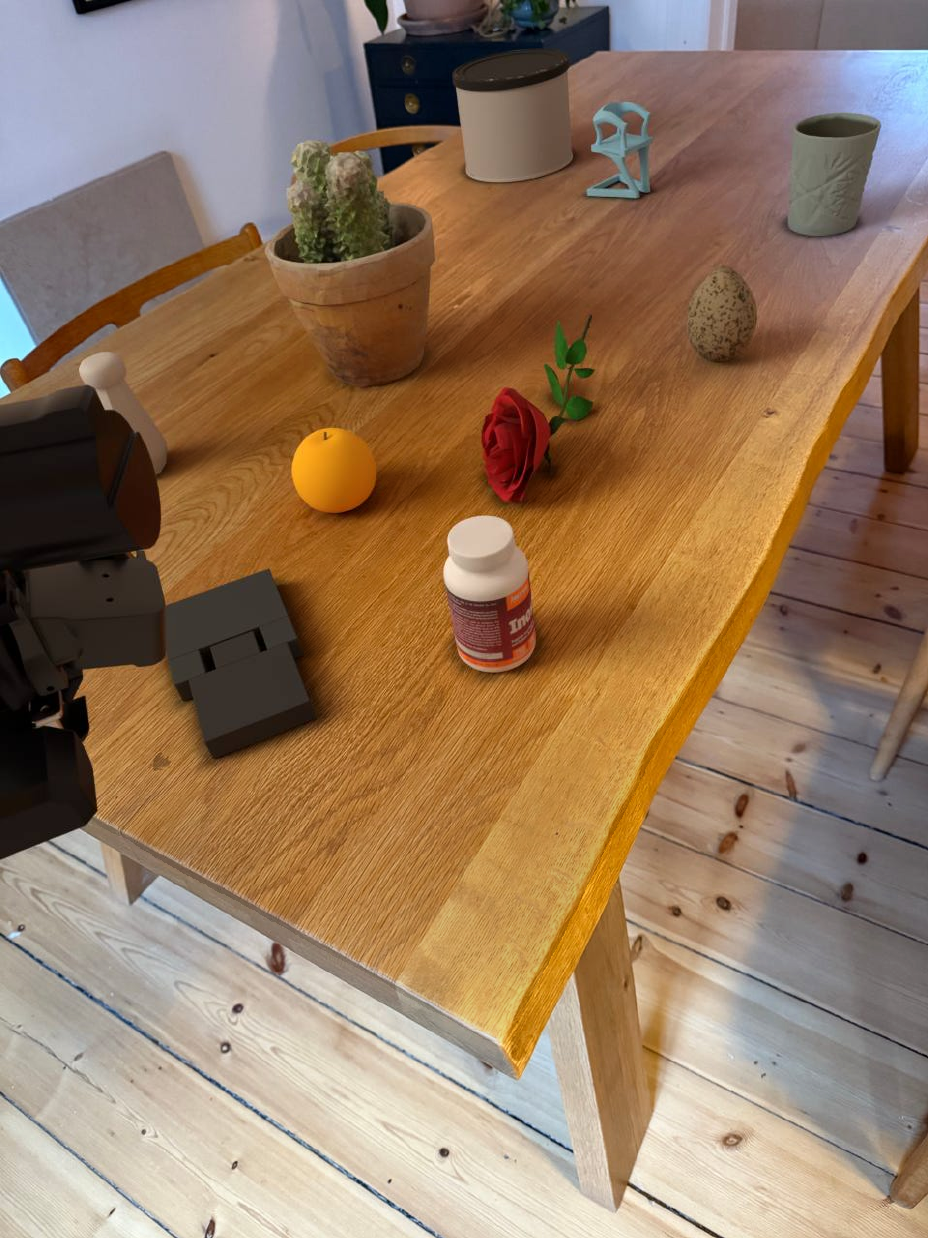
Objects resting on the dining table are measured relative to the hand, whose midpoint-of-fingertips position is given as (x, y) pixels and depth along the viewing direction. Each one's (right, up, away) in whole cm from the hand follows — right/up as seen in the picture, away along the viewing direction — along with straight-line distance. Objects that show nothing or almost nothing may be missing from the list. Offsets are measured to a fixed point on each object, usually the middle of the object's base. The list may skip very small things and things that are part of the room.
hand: (83, 790), depth 49 cm
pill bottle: (+23, +7, +21) cm, 32 cm away
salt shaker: (-13, +26, +48) cm, 56 cm away
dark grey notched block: (+2, +8, +25) cm, 27 cm away
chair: (+45, +75, +88) cm, 124 cm away
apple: (+9, +21, +38) cm, 44 cm away
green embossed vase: (+69, +62, +70) cm, 116 cm away
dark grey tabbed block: (+4, +3, +20) cm, 21 cm away
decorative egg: (+49, +38, +48) cm, 78 cm away
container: (+30, +88, +105) cm, 140 cm away
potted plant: (+11, +40, +58) cm, 71 cm away
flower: (+30, +29, +43) cm, 59 cm away
